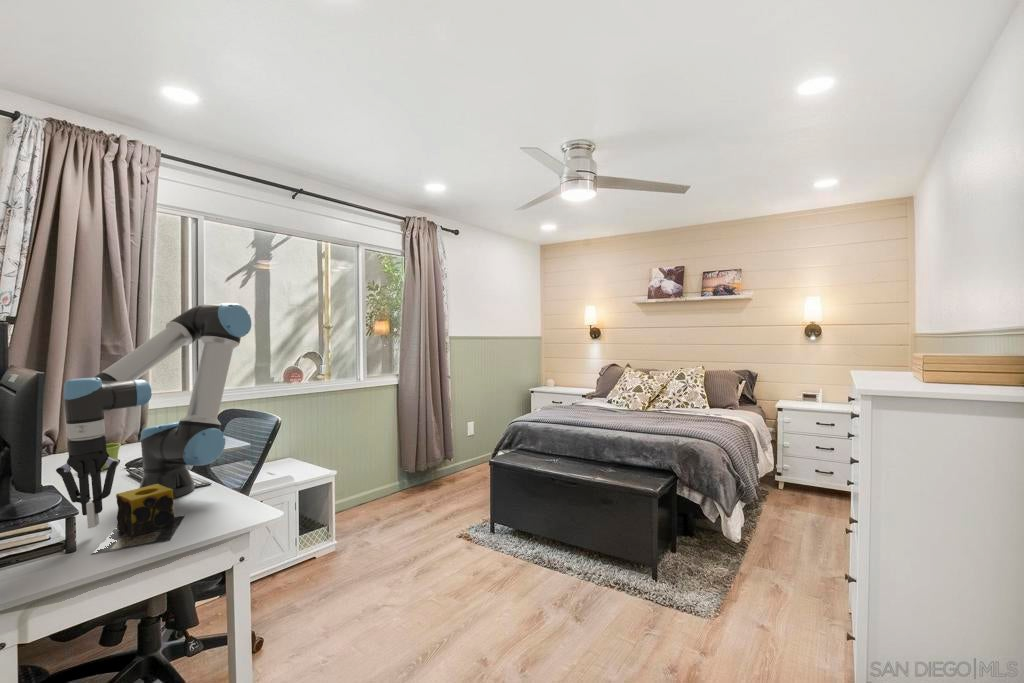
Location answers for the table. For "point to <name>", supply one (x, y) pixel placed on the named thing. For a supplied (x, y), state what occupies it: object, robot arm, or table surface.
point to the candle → (145, 509)
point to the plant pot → (112, 452)
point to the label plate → (142, 537)
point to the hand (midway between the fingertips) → (93, 525)
